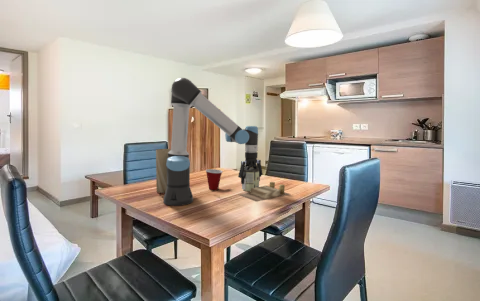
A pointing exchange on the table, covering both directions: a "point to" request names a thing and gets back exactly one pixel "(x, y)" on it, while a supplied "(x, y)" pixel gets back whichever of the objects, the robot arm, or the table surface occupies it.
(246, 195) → the board
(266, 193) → the beige ridged square block
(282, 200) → the table surface
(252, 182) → the coffee can
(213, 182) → the plastic cup
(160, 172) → the tan tall block
